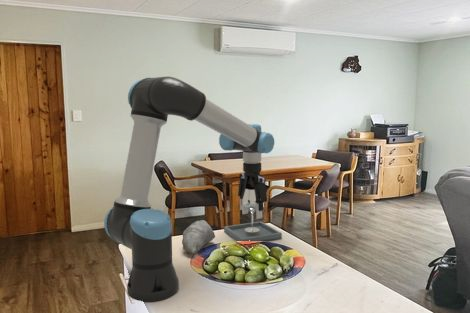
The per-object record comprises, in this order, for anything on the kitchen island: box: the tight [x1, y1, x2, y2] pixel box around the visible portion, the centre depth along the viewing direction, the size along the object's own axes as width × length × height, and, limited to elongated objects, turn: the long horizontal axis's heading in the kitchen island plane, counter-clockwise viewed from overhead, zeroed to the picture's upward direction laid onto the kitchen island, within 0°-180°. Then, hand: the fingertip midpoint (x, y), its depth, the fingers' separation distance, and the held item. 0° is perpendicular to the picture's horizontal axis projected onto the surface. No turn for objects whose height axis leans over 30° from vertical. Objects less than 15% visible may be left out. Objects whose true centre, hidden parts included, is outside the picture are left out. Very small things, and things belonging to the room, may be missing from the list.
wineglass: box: [243, 186, 261, 233], centre depth 164 cm, size 8×8×18 cm
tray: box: [223, 220, 283, 242], centre depth 165 cm, size 18×18×2 cm
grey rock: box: [181, 219, 216, 255], centre depth 150 cm, size 16×15×10 cm
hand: (252, 215), depth 164 cm, fingers closed on wineglass, 8 cm apart
